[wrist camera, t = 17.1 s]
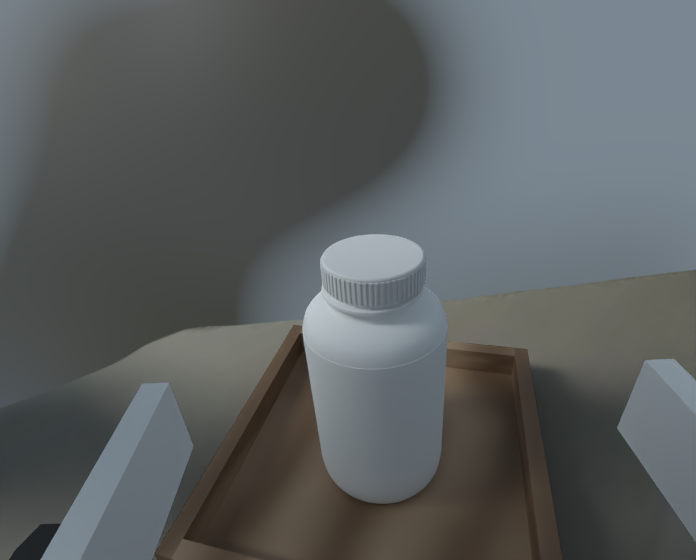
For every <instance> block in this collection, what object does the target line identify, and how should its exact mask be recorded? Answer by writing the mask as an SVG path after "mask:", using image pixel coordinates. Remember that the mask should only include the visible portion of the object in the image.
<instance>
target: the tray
mask: <svg viewBox="0 0 696 560" xmlns="http://www.w3.org/2000/svg"><path fill="white" fill-rule="evenodd" d="M302 327H303V326H297V325H293V327H292V329H291V330H290V332H289V334H288V335H287V337H286V339H285V340H284V342H283V344H282V345H281V347H280V348H279V350H278V352H277V353H276V355H275V357H274V358H273V360H272V362H271V363H270V365H269V367H268V368H267V370H266V372H265V373H264V375H263V376H262V378H261V380H260V381H259V383H258V385H257V386H256V388H255V390H254V391H253V393H252V395H251V396H250V398H249V400H248V401H247V403H246V405H245V406H244V408H243V409H242V411H241V413H240V414H239V416H238V418H237V419H236V421H235V423H234V424H233V426H232V428H231V429H230V431H229V433H228V434H227V436H226V437H225V439H224V441H223V442H222V444H221V446H220V447H219V449H218V451H217V452H216V454H215V456H214V457H213V459H212V461H211V462H210V464H209V465H208V467H207V469H206V470H205V472H204V474H203V475H202V477H201V479H200V480H199V482H198V484H197V485H196V487H195V489H194V490H193V492H192V494H191V495H190V497H189V498H188V500H187V502H186V503H185V505H184V507H183V508H182V510H181V512H180V513H179V515H178V517H177V518H176V520H175V522H174V523H173V525H172V526H171V528H170V530H169V531H168V533H167V535H166V536H165V538H164V540H163V541H162V543H161V545H160V546H159V548H158V550H157V551H156V553H155V556H156V557H157V559H158V560H563V558H562V552H561V546H560V540H559V534H558V528H557V523H556V517H555V511H554V505H553V499H552V493H551V487H550V481H549V475H548V469H547V463H546V457H545V451H544V445H543V440H542V434H541V428H540V422H539V416H538V410H537V404H536V398H535V392H534V386H533V380H532V374H531V368H530V362H529V357H528V351H527V349H521V348H511V347H501V346H492V345H482V344H472V343H462V342H453V341H447V355H446V373H445V391H444V410H443V428H442V446H441V456H440V460H439V465H438V468H437V470H436V473H435V475H434V476H433V478H432V479H431V481H430V482H429V483H428V485H427V486H426V487H425V488H424V489H422V490H421V491H420V492H419V493H417V494H416V495H414V496H412V497H410V498H408V499H406V500H403V501H400V502H396V503H390V504H375V503H369V502H365V501H362V500H359V499H356V498H354V497H352V496H350V495H349V494H347V493H346V492H344V491H343V490H342V489H341V488H340V487H339V486H338V485H337V484H336V483H335V482H334V481H333V479H332V478H331V477H330V475H329V473H328V471H327V469H326V466H325V463H324V460H323V457H322V451H321V445H320V439H319V433H318V427H317V421H316V414H315V408H314V402H313V396H312V390H311V384H310V377H309V371H308V365H307V359H306V353H305V346H304V340H303V330H302Z"/></svg>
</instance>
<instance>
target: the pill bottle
mask: <svg viewBox="0 0 696 560" xmlns="http://www.w3.org/2000/svg"><path fill="white" fill-rule="evenodd" d="M320 267H321V276H322V291H321V292H320V293H319V294H317V295H316V297H315V298H314V299H313V300H312V301H311V303H310V305H309V306H308V308H307V310H306V313H305V317H304V321H303V327H302V330H303V340H304V346H305V353H306V359H307V365H308V371H309V377H310V384H311V390H312V396H313V402H314V408H315V414H316V421H317V427H318V433H319V439H320V445H321V451H322V457H323V460H324V463H325V466H326V469H327V471H328V473H329V475H330V477H331V478H332V479H333V481H334V482H335V483H336V484H337V485H338V486H339V487H340V488H341V489H342V490H343V491H344V492H346V493H347V494H349V495H350V496H352V497H354V498H356V499H359V500H362V501H365V502H369V503H375V504H390V503H396V502H400V501H403V500H406V499H408V498H410V497H412V496H414V495H416V494H417V493H419V492H420V491H421V490H422V489H424V488H425V487H426V486H427V485H428V483H429V482H430V481H431V479H432V478H433V476H434V475H435V473H436V470H437V468H438V465H439V460H440V456H441V446H442V428H443V410H444V391H445V373H446V355H447V337H448V322H447V317H446V314H445V311H444V308H443V306H442V304H441V302H440V301H439V299H438V298H437V297H436V295H435V294H434V293H432V291H430V290H429V289H428V288H426V287H425V286H424V284H425V277H426V255H425V253H424V252H423V250H422V248H421V247H420V246H419V245H417V244H416V243H414V242H412V241H410V240H408V239H405V238H402V237H398V236H393V235H383V234H370V235H361V236H355V237H351V238H347V239H344V240H341V241H339V242H336V243H335V244H333V245H331V246H330V247H329V248H327V249H326V251H325V252H324V253H323V255H322V257H321V259H320Z"/></svg>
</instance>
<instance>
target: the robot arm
mask: <svg viewBox="0 0 696 560" xmlns="http://www.w3.org/2000/svg"><path fill="white" fill-rule="evenodd" d="M617 429H618V430H619V432H620V433H621V435H622V436H623V438H624V439H625V440H626V442H627V443H628V445H629V446H630V448H631V449H632V451H633V452H634V453H635V455H636V456H637V458H638V459H639V461H640V462H641V464H642V465H643V466H644V468H645V469H646V471H647V472H648V474H649V475H650V477H651V478H652V480H653V481H654V482H655V484H656V485H657V487H658V488H659V490H660V491H661V493H662V494H663V495H664V497H665V498H666V500H667V501H668V503H669V504H670V506H671V507H672V509H673V510H674V511H675V513H676V514H677V516H678V517H679V519H680V520H681V522H682V523H683V524H684V526H685V527H686V529H687V530H688V532H689V533H690V535H691V536H692V537H693V539H694V540H695V542H696V380H695V379H694V378H693V377H692V376H691V375H690V374H689V373H688V372H687V371H686V370H685V369H684V368H683V367H682V366H681V365H680V364H679V363H678V362H677V361H676V360H675V359H659V360H645V362H644V364H643V367H642V369H641V372H640V374H639V376H638V379H637V381H636V384H635V386H634V388H633V391H632V393H631V396H630V398H629V400H628V403H627V405H626V408H625V410H624V412H623V415H622V417H621V420H620V422H619V424H618V427H617ZM193 447H194V446H193V444H192V441H191V438H190V436H189V433H188V431H187V428H186V425H185V423H184V420H183V417H182V415H181V412H180V410H179V407H178V404H177V402H176V399H175V397H174V394H173V391H172V389H171V386H170V384H169V382H167V383H146V384H142V385H141V386H140V388H139V390H138V391H137V393H136V395H135V397H134V398H133V400H132V402H131V404H130V405H129V407H128V409H127V411H126V412H125V414H124V416H123V417H122V419H121V421H120V423H119V424H118V426H117V428H116V430H115V431H114V433H113V435H112V437H111V438H110V440H109V442H108V443H107V445H106V447H105V449H104V450H103V452H102V454H101V456H100V457H99V459H98V461H97V463H96V464H95V466H94V468H93V469H92V471H91V473H90V475H89V476H88V478H87V480H86V482H85V483H84V485H83V487H82V489H81V490H80V492H79V494H78V495H77V497H76V499H75V501H74V502H73V504H72V506H71V508H70V509H69V511H68V513H67V515H66V516H65V518H64V520H63V521H62V523H61V524H41V525H40V526H39V527H38V528H37V529H36V530H35V531H34V532H33V533H32V534H31V535H30V536H29V537H28V538H27V539H26V540H25V541H24V542H23V543H22V544H21V545H20V546H19V547H18V548H17V549H16V550H15V551H14V553H13V555H12V556H11V558H10V559H9V560H152V559H153V556H154V553H155V551H156V548H157V545H158V542H159V540H160V537H161V534H162V532H163V529H164V526H165V523H166V521H167V518H168V515H169V512H170V510H171V507H172V504H173V501H174V499H175V496H176V493H177V490H178V488H179V485H180V482H181V479H182V477H183V474H184V471H185V468H186V466H187V463H188V460H189V458H190V455H191V452H192V449H193Z"/></svg>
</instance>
